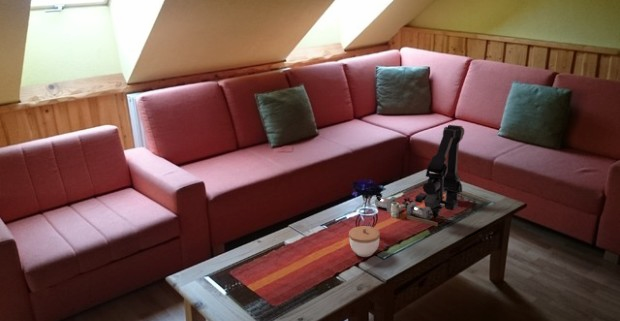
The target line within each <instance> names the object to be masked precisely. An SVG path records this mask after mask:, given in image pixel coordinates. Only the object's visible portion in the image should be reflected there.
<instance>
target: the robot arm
mask: <svg viewBox="0 0 620 321" xmlns="http://www.w3.org/2000/svg"><path fill="white" fill-rule="evenodd" d="M464 135H465V128H464V127H463V126H462V125H455V124H448V125H447V126H445V127H443V131H442V138H441V141H440V143H439V146H438V149H437V152H436V154H434V155H433V156H432V157H431V159H430V161H429V162H428V165H427V169H426V172H425V177H427V178H428V179H427V181H426V182H425V183H424V184H423V186H422V190H423V191H424V192H419V193H418V194H417V195H415V197H414V202H416V203H420V204H421V203H423V202H424V208H425V207H430V208H431V211H432V213H433V216H434V217H433V218H434V219H438V218H437V216H438V214H439V215H440V212H441V210H442V209H443V208H445V209H446V210H449V211H454V210H456V209H457V207H459V203H460V202H461V200H460V199H459V198H458V197H459V194H460V193H463V184H462V182H461V176H460V174H459V173H458V160H459V159H458V158H459V146H460V143H461V141H462V140H463V138H464ZM444 192H445V196H444Z"/></svg>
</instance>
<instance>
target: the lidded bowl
mask: <svg viewBox="0 0 620 321" xmlns="http://www.w3.org/2000/svg"><path fill="white" fill-rule="evenodd" d="M380 236H381V232H380V230H378V229H377V228H376V227H373V226H368V225H360V226H355V227H353V228H351V229H350V230H349V232H348V238H349V244H350V247H351V250H352V251H353V252H354V253H355V254H356V255H357V256H359V257H362V258H363V257H364V258H366V257H371V256H372V255H373V254H374V253H375V252H376V251H377V250H378V248H379V245H380Z"/></svg>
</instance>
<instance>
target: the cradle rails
mask: <svg viewBox="0 0 620 321" xmlns="http://www.w3.org/2000/svg"><path fill="white" fill-rule="evenodd" d="M432 217H433V218H434V216H433V213H432ZM406 219H407V220H410V221H411V220H412V221H413V222H418V223H422V224H427V225H430V226H435V227H438V224H439V223H438V222H436V221H433V220H430V219H429V220H425V219H422V218H421V217H417V216H409V215H407V214H406ZM436 219H440V220H446V215H443V214H442V215H441V214H440V213H439V214H438V216H437V218H436Z"/></svg>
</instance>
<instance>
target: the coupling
mask: <svg viewBox="0 0 620 321" xmlns="http://www.w3.org/2000/svg"><path fill="white" fill-rule="evenodd" d="M409 203H410V202H409ZM407 215H409V216H413V217H417V218H421V219H425V220H429V221H430V219H432V211H431V208H430V207H425V206H418V205H417V202H415V201H413V202H411V203H410V204H409V205H407V209H406V216H407Z"/></svg>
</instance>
